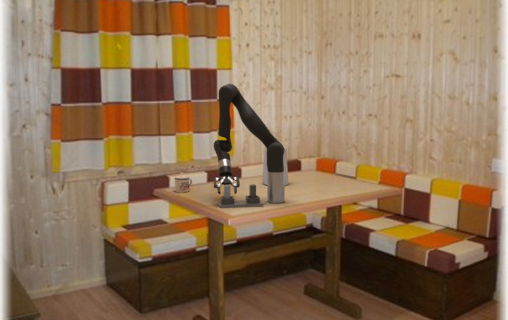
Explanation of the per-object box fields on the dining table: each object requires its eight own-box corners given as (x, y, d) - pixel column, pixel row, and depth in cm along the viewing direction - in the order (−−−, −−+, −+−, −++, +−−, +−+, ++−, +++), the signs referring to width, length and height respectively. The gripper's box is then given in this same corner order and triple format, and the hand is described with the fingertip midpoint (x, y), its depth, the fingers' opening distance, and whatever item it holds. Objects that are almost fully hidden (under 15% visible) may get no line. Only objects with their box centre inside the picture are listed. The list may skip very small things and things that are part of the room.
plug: (229, 202, 297) (229, 185, 295) (230, 203, 293) (230, 186, 292) (223, 202, 296) (223, 185, 295) (224, 203, 293) (224, 186, 291)
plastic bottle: (290, 185, 351) (290, 143, 347) (269, 187, 346) (269, 144, 342) (280, 181, 365) (281, 140, 361) (260, 183, 360) (260, 141, 356)
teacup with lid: (180, 193, 327) (180, 174, 325) (171, 191, 334) (171, 172, 332) (196, 190, 335) (196, 172, 334) (187, 188, 342) (187, 170, 340)
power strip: (260, 202, 303) (260, 183, 301) (263, 206, 293) (263, 186, 291) (217, 203, 299) (217, 184, 297) (219, 208, 289) (219, 187, 288)
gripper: (212, 165, 298) (214, 190, 288) (238, 164, 300) (241, 189, 291) (212, 173, 304) (214, 197, 294) (237, 172, 306) (240, 196, 297)
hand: (227, 193), depth 293 cm, fingers open, 8 cm apart
